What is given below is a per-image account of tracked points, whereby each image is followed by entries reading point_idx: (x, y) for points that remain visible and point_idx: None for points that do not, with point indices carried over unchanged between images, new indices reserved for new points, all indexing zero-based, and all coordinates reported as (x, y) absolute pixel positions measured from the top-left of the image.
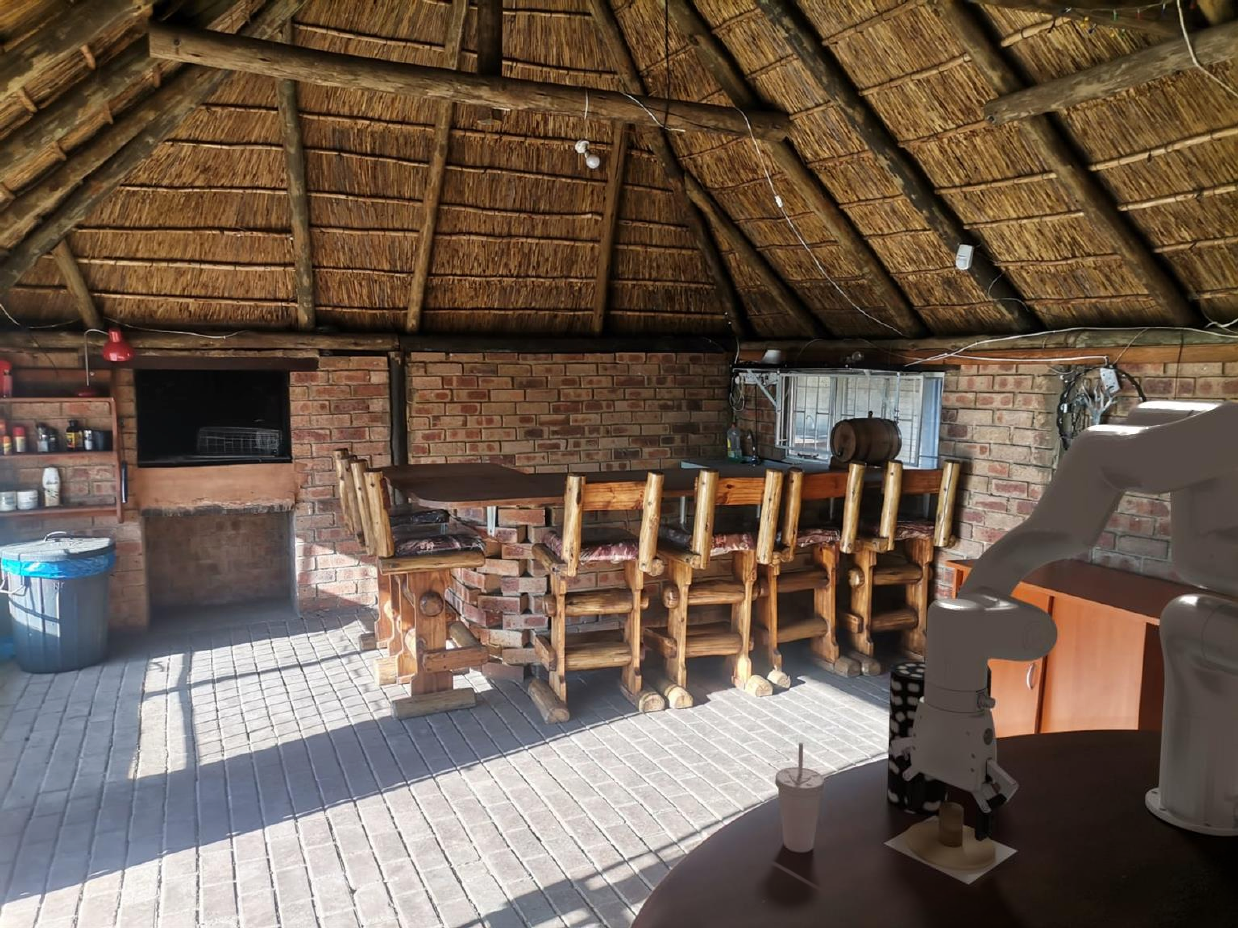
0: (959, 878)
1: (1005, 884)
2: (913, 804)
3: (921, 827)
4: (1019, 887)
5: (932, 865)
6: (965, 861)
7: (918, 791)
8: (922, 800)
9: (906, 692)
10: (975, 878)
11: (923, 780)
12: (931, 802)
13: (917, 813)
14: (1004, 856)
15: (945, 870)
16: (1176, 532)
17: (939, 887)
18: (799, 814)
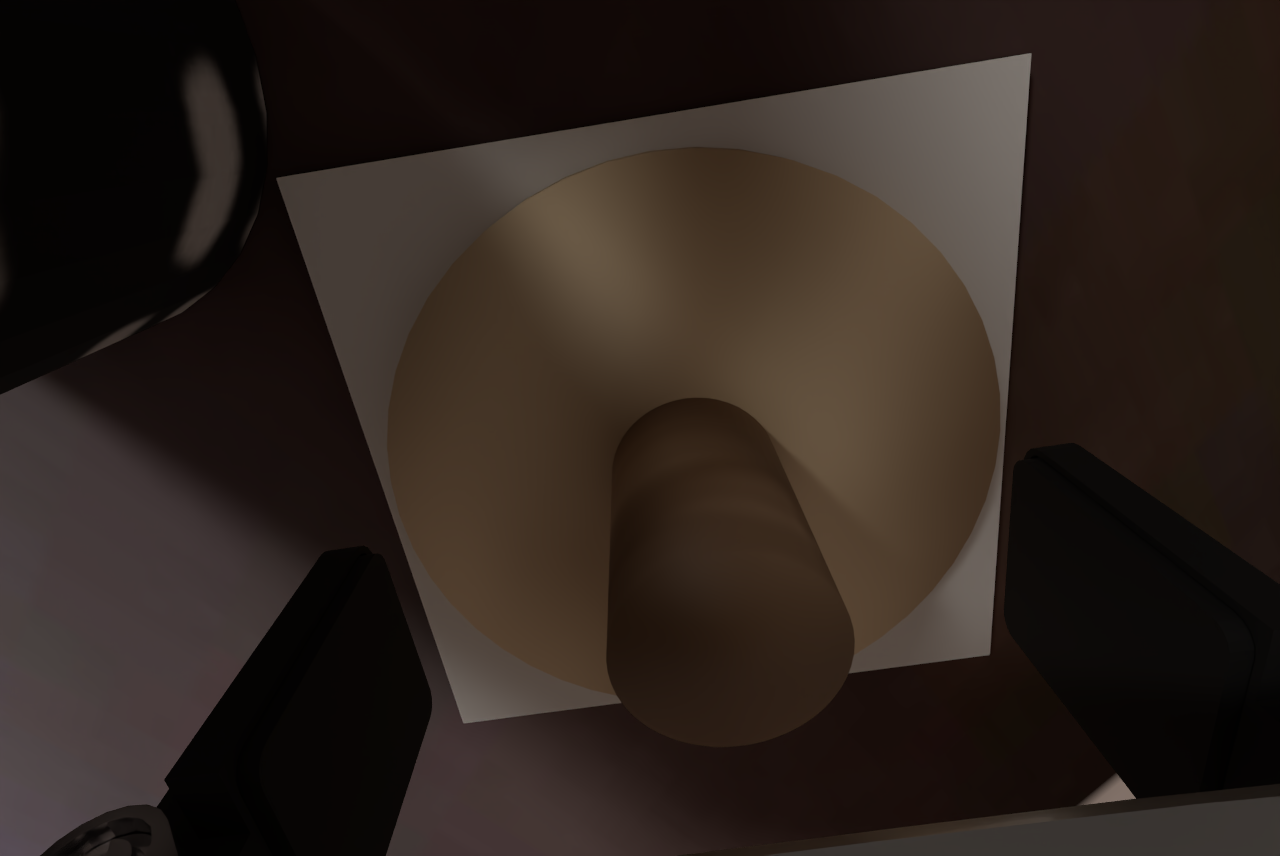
0: (929, 655)
1: (1115, 469)
2: (414, 729)
3: (453, 493)
4: (1190, 428)
5: None
6: (903, 576)
7: (357, 765)
8: (374, 609)
9: None
10: (989, 592)
11: (277, 788)
12: (191, 195)
13: (208, 281)
14: (995, 227)
15: None
16: None
17: (884, 742)
18: None
